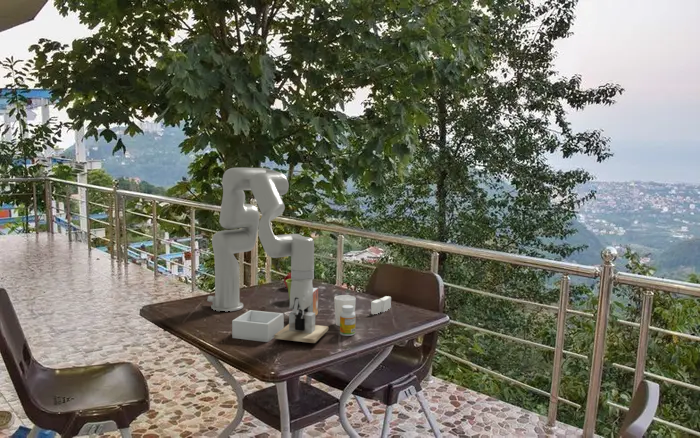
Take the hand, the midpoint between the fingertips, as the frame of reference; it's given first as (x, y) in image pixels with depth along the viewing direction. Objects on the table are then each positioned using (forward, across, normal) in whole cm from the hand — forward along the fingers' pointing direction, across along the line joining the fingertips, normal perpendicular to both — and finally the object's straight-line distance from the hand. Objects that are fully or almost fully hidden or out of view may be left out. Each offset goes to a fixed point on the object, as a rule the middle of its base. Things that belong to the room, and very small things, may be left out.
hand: (302, 327), depth 171 cm
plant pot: (+4, -45, -20) cm, 49 cm away
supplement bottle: (+4, -10, +13) cm, 17 cm away
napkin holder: (+5, -41, +18) cm, 45 cm away
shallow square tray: (+4, 0, -16) cm, 16 cm away
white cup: (+4, -20, +9) cm, 22 cm away
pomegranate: (+4, -65, -29) cm, 71 cm away
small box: (+4, -25, -7) cm, 26 cm away
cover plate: (+2, 0, 0) cm, 2 cm away
